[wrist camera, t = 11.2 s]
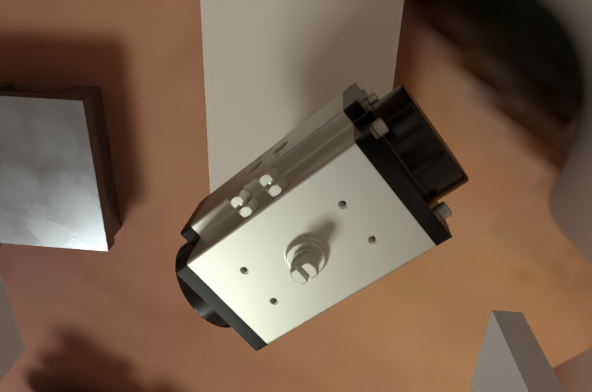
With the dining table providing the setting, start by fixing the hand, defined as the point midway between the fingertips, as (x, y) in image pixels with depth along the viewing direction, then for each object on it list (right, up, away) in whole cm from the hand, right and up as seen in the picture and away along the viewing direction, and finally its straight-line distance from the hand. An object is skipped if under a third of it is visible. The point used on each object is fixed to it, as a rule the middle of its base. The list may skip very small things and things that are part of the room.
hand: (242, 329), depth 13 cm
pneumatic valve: (+3, +7, +13) cm, 15 cm away
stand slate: (-14, +6, +18) cm, 24 cm away
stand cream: (+2, +8, +16) cm, 18 cm away
